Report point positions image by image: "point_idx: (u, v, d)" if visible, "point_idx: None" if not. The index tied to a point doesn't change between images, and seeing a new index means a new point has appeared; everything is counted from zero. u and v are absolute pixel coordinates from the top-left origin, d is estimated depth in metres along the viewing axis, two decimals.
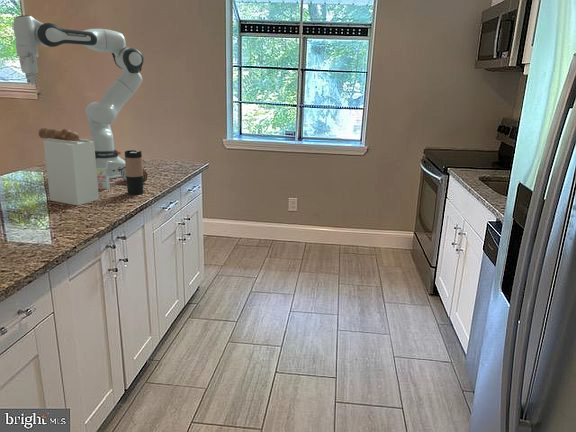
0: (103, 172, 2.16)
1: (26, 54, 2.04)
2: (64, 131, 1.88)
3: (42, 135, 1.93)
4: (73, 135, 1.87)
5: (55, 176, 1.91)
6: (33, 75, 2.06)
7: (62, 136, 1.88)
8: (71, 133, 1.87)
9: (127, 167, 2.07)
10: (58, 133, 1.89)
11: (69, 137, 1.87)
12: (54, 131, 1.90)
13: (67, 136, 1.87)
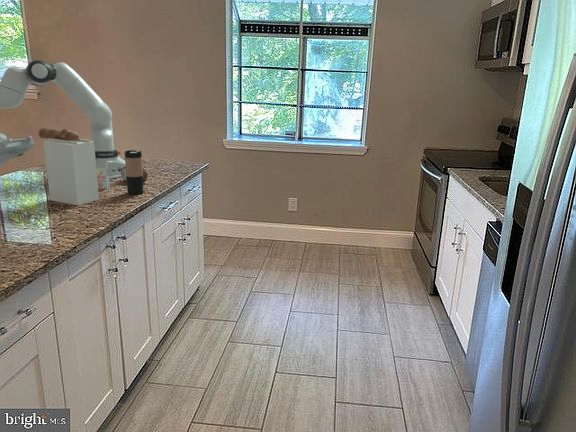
0: (103, 172, 2.16)
1: None
2: (64, 131, 1.88)
3: (42, 135, 1.93)
4: (73, 135, 1.87)
5: (55, 176, 1.91)
6: (2, 143, 1.97)
7: (62, 136, 1.88)
8: (71, 133, 1.87)
9: (127, 167, 2.07)
10: (58, 133, 1.89)
11: (69, 137, 1.87)
12: (54, 131, 1.90)
13: (67, 136, 1.87)
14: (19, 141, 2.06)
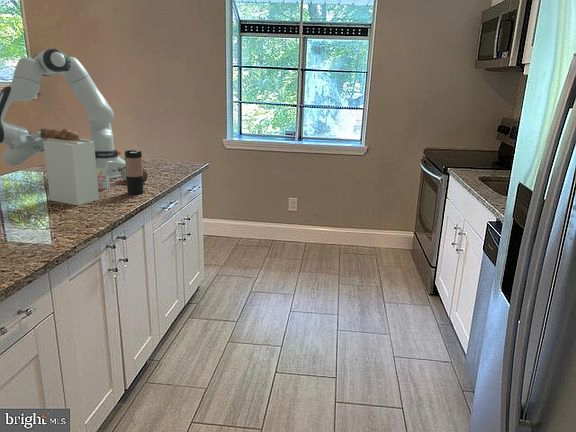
0: (103, 172, 2.16)
1: (22, 148, 1.96)
2: (64, 131, 1.88)
3: (42, 135, 1.93)
4: (73, 135, 1.87)
5: (55, 176, 1.91)
6: (31, 136, 1.92)
7: (62, 136, 1.88)
8: (71, 133, 1.87)
9: (127, 167, 2.07)
10: (58, 133, 1.89)
11: (69, 137, 1.87)
12: (54, 131, 1.90)
13: (67, 136, 1.87)
14: None
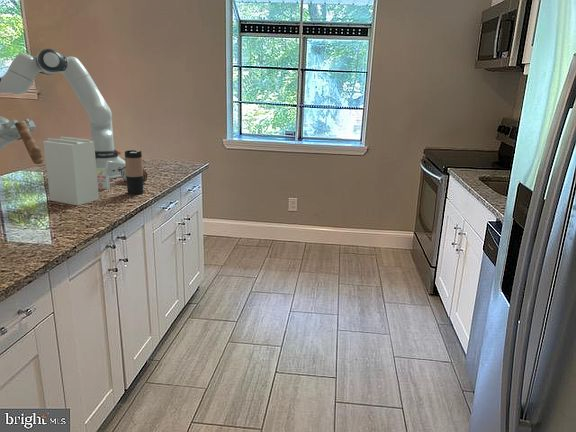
0: (103, 172, 2.16)
1: None
2: (34, 152, 1.98)
3: (17, 128, 1.97)
4: (38, 162, 1.99)
5: (55, 176, 1.91)
6: (6, 124, 1.95)
7: (29, 152, 1.98)
8: (37, 159, 1.99)
9: (127, 167, 2.07)
10: (29, 146, 1.97)
11: (33, 160, 1.98)
12: (28, 139, 1.97)
13: (32, 157, 1.98)
14: None
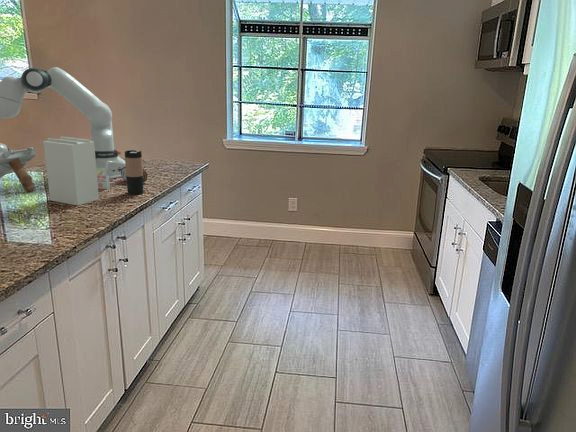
0: (103, 172, 2.16)
1: None
2: (25, 179, 2.05)
3: None
4: (29, 189, 2.06)
5: (55, 176, 1.91)
6: (4, 154, 1.98)
7: (20, 181, 2.05)
8: (29, 186, 2.05)
9: (127, 167, 2.07)
10: (19, 175, 2.05)
11: (25, 188, 2.05)
12: (18, 169, 2.05)
13: (24, 185, 2.05)
14: (20, 152, 2.07)
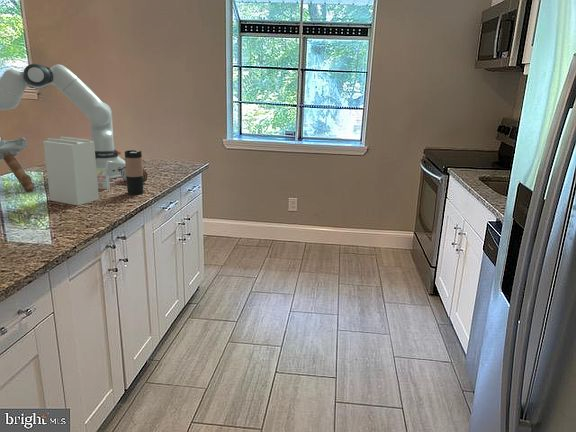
0: (103, 172, 2.16)
1: None
2: (24, 179, 2.05)
3: (5, 161, 2.06)
4: (29, 188, 2.06)
5: (55, 176, 1.91)
6: None
7: (20, 181, 2.05)
8: (28, 186, 2.05)
9: (127, 167, 2.07)
10: (18, 175, 2.05)
11: (24, 187, 2.05)
12: (17, 169, 2.06)
13: (23, 185, 2.05)
14: (12, 142, 2.08)
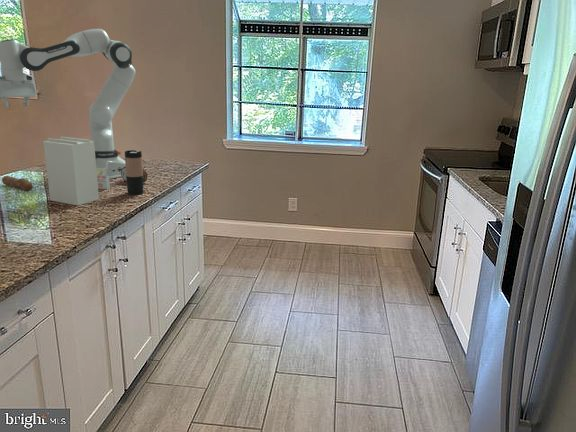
0: (103, 172, 2.16)
1: None
2: (20, 180, 2.08)
3: (4, 181, 2.14)
4: (26, 184, 2.07)
5: (55, 176, 1.91)
6: (3, 99, 2.04)
7: (17, 184, 2.08)
8: (25, 182, 2.07)
9: (127, 167, 2.07)
10: (16, 181, 2.10)
11: (22, 185, 2.07)
12: (14, 179, 2.11)
13: (21, 184, 2.07)
14: None
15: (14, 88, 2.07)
